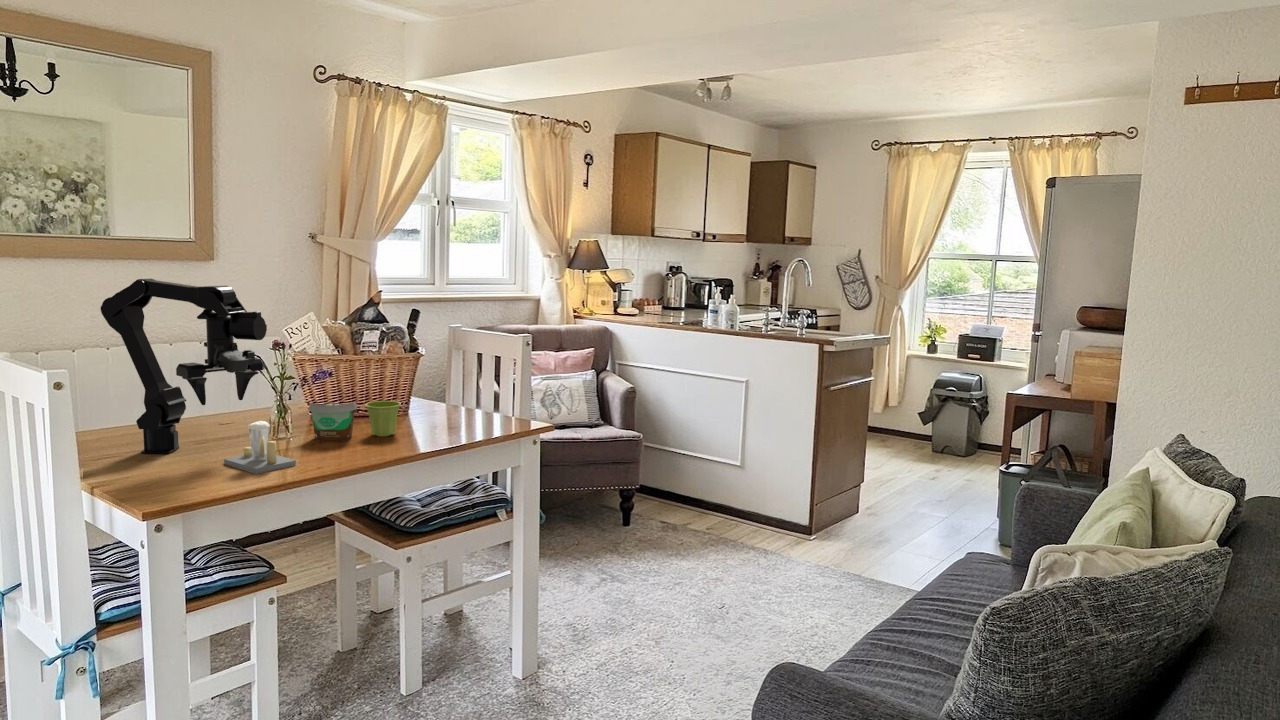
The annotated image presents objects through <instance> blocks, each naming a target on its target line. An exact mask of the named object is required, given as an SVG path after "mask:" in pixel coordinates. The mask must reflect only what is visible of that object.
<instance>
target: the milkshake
mask: <svg viewBox="0 0 1280 720" xmlns="http://www.w3.org/2000/svg"><path fill="white" fill-rule="evenodd" d="M244 419H245V421H246V423H247V425H248V435H249V439H250V440H249V441H250V447H251V451H252V460H253V461H265V460H267V442H268V441H269V438H270V431H271V430H270V427H271V424H270V423H268V422H267V421H264V420H258V421H254V422H253V423H249V421H248V419H247V417H244Z"/></svg>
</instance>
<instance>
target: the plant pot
mask: <svg viewBox="0 0 1280 720" xmlns="http://www.w3.org/2000/svg"><path fill="white" fill-rule="evenodd" d="M364 405H365V407H366V410H367V413H368V417H369V423H370V429H371V434H372V436H377V437H380V438H381V437H389V436H393V435H395V434H396V427H397V421H398V412H399V410H400V406H401V405H402V403H401V402H400V401H394V400H377V401H376V400H375V401H370V402H366V403H365V404H364Z"/></svg>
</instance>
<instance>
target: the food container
mask: <svg viewBox="0 0 1280 720" xmlns="http://www.w3.org/2000/svg"><path fill="white" fill-rule="evenodd" d="M357 409H358V405H357V403H356V401H353V402H350V403H345V404H343V403H335V402H331V403H324V404H317V403H313V402H310V403H309V407H308V411H309V412H311V418H312V425H313V433H314V439H315V441H317V442H318V441H319V442H323V443H324V442H326V443H334V442H335V443H336V442H343V441H349V440H350V439H352V438H353V428H354V418H355V410H357Z"/></svg>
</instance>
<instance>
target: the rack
mask: <svg viewBox="0 0 1280 720" xmlns="http://www.w3.org/2000/svg"><path fill="white" fill-rule="evenodd" d="M223 464H224V465H226V466H230V467H233V468H236V469H239V470H241V471H246V472H249V473H251V474H255V475H258V474H262V473H266V472H271V471H276V470H279V469H285V468H290V467H294V466H296V465H297V461H296V459H292V458H288V457H285V456H282V455H279V454H277V441H276V440H270V441H269V440H268V442H267V460H265V461H253V460H252V451H251V446H247V447H243V454H242V455H237V456H231V457H227V458H224V459H223Z"/></svg>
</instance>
